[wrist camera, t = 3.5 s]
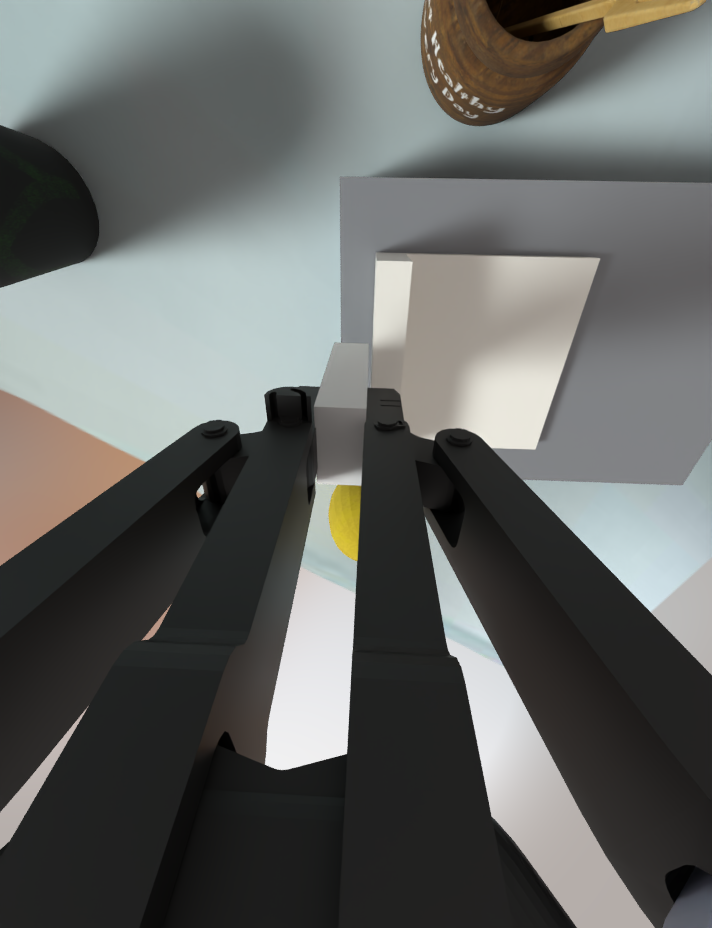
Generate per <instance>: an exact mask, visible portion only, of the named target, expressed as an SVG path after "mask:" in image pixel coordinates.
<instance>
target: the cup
mask: <svg viewBox="0 0 712 928" xmlns="http://www.w3.org/2000/svg"><path fill="white" fill-rule="evenodd" d="M98 236H99V220H98V216H97V211H96V207H95V204H94V201H93V199H92V196H91V194H90V192H89V189H88V188H87V186H86V184H85V183H84V181H83V180H82V178H81V176H80V175H79V173H78V172H77V171H76V170H75V169H74V168H73V166H72V165H71V164H70V163H69V162H68V160H67V159H65V158H64V157H63V156H62V155H61V154H59V153H58V152H57V151H56V150H55V149H54V148H52V147H50V146H48V145H47V144H45V143H43V142H41V141H40V140H38V139H35V138H33V137H30V136H27V135H25V134H22V133H19V132H17V131H14V130H12V129H9V128H6V127H4V126H1V125H0V288H1V287H4V286H7V285H11V284H14V283H17V282H20V281H23V280H26V279H29V278H32V277H36V276H39V275H42V274H45V273H48V272H51V271H54V270H58V269H61V268H64V267H67V266H70V265H73V264H76V263H79V262H82V261H84V260H85V259H86V258H88V257H89V256H90V255H91V253H92V252H93V250H94V249H95V247H96V244H97V240H98Z"/></svg>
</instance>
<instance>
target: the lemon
mask: <svg viewBox="0 0 712 928" xmlns="http://www.w3.org/2000/svg"><path fill="white" fill-rule="evenodd" d="M360 500H361V486H358V485H337V487H336V489H335V490H334V492H333V494H332V497H331V501H330V507H329V524H330V530H331V534H332V537H333V539H334V541H335V543H336V545H337V547H338V548H339V549H340V550H341V551H342V552H343V553H344V554H345V555H346V556H348V557H349V558H351V559H353V560H355V561H357V560H358V540H359V520H360Z"/></svg>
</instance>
